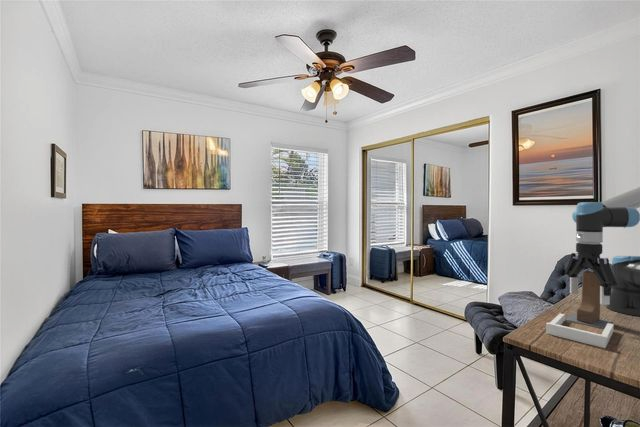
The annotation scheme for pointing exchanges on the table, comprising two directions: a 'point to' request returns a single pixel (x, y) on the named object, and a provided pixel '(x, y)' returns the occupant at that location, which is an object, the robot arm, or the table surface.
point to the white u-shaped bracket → (579, 332)
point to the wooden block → (589, 298)
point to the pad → (599, 323)
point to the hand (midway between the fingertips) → (588, 298)
